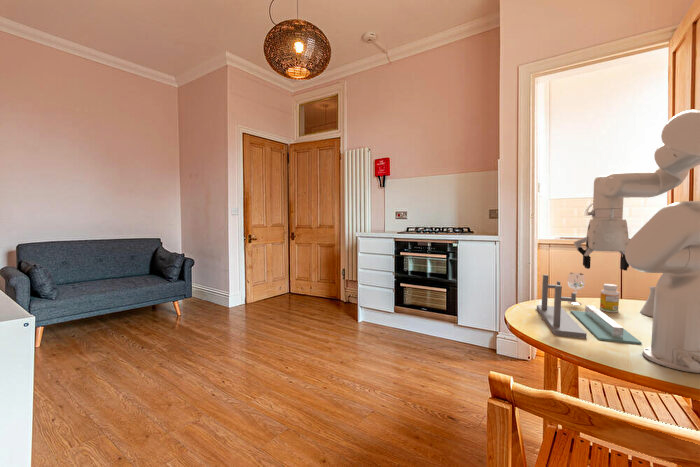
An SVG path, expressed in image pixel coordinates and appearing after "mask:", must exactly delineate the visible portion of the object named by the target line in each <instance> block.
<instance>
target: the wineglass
mask: <svg viewBox="0 0 700 467" xmlns="http://www.w3.org/2000/svg"><path fill="white" fill-rule="evenodd" d="M585 284H586V279H585V275H584V273H582V272H569V273H568V276H567V286H568V287H569V288H570V289H573V290H574V291H573V293H575V294H576V295H577V294H578V291H579V290H582V289H584V287H585ZM567 303H568V304H570V305H576V306H579V305H582V302H578V301H577V300H576V301H575V302H569V301H567Z"/></svg>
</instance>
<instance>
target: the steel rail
mask: <svg viewBox="0 0 700 467" xmlns="http://www.w3.org/2000/svg"><path fill="white" fill-rule="evenodd" d="M584 306H585V307H584V308H585V309H584V312H585V313H586V314H587V315H588V316H589V317H590V318H591V319H593V320H594V321H595V322H596V323H597V324H598V325H599V326H601V327H602V328H603V329H604V330H605V331H606V332H607V333H609V334H610V335H611V336H612V337H616V338H623V329H625V328H624V327H623V326H622V325H620V324H619V323H617V321H615V320H614V319H612V318H611V317H609V315H607V314H606V313H604V311H603V310H601V309H600V308H597V307H596V306H595V305H593V304H592V305H591V304H585V305H584Z"/></svg>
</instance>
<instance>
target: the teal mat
mask: <svg viewBox="0 0 700 467" xmlns="http://www.w3.org/2000/svg"><path fill="white" fill-rule="evenodd" d="M570 313H571V314H572V315H573V316H574V317H575V318H576V319H577V320H578V321H579V322H580V324H582V325H583V326H584V327H585V328H586V329H587V330H588V331H589V332H590V333H591V334H592V335H593V336H594V337H595V338H596V339H597V340H598V341H606V342H613V343H615V342H616V343H621V344H622V343H624V344H632V345H633V344H634V345H643V344H642V343H643V342H641V340H639V339H638V338H636V337H635V336H634V335H633V334H631V333H630V332H629V331H627V330H626V329H625V328H624V329H623V338H616V337H612V336H611V335H610V334H609V333H607V332H606V331H605V330H604V329H603V328H602V327H601V326H599V325H598V324H597V323H596V322H595V321H594V320H593V319H591V318H590V317H589V316H588V315H587V314H586V313H585V310H584V311H583V310H570Z"/></svg>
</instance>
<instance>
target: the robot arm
mask: <svg viewBox="0 0 700 467" xmlns="http://www.w3.org/2000/svg"><path fill="white" fill-rule="evenodd" d="M660 135H661V136H660V137H661V141H662V144H661V145H659V146H658V147H657V148H656V150H655V151H654V161H655V163H656V165H657V166H658V168H656V169H653V170H651V171H649V170H648V171H641V170H639V171H637V170H636V171H634V170H633V171H616V172H615V171H614V172H612V173H610V174H607V175H599V176H597V177H595V178H594V182H593V197H592V210H590V211H589V210H588V211H587V214H586V216H590V217H591V219H589V222H588V225H587V232H586V236H585V237H583V238H581V239H578V240H576V241H573V245H574V247H575V248H576V250H577V251H578V252H579V253H580V254H581V255H582V266H584V268H585V269H587V270H590V269H591V258H592V257H591V256H590V255H591V254H592V253H593V252H594V251H596V252H616V253H617V252H619V253H620V254H621V255H622V256H621V257H620V265H619V266H620V267H619V269H620V270H622V271H628V269H629V268H630V267H631V268H632V269H634V270H635V271H638V272H641V273H646V274H647V273H649V274H661V275H660V277H659V278H658V280H657V283H656V285H655V287H656V288H655V296H654V310H653V317H652V327H651V340H650V341H651V342H650V343H651V344H650V346H646V347H644V348H643V349H642V355H643V357H645V358H646V359H647V360H649V361H651V362H653V363H654V364H655V363H656V364H658V365H660V366H663V367H667V368H670V369H674V370H678V371H682V372H687V373H694V374H700V200H688V201H687V200H686V201H678V202H677V201H676V202H673V203H671V204H668V205H666V206H664V207H662V208H661V209H659V210H658V211H657V212H656V213H655V214H654V215H653V216H651V218H650V219H649V220H647V222H646V223H645V224H644V225H643V226H642V227H641V228H640V229H639V230H638V231H637V232H636V233H634V235H633V236H632V237H631V238H630V237H629V228H628V222H627V219H624V218H623V217H624V199H625V198H626V199H627V198H629V199H631V198H646V199H647V198H654V197H657V196H660V195H663V194H665V193H667V192H669V191H671V190H674V189H675V188H677V187H678V186H680V185H681V184H683V182H685V180H686V178H687V177H688V175H689V172H690V170H692V169H694V168H696V167H698V166H699V165H700V109H690V110H685V111H682V112H680V113H678V114H677V113H676V115H673V117H672V118H670V119H669V120H668V121H667V122H666V124H665V125H664V126H663V128H662V131H661V134H660ZM582 244H585V247H586V248H585V249H584V248H583V247H582Z"/></svg>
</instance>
